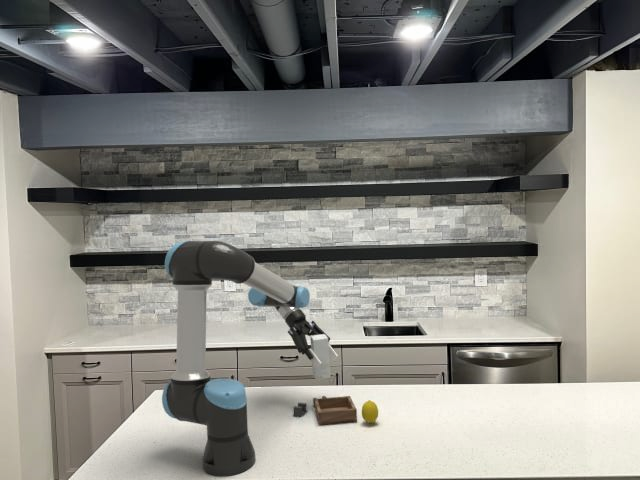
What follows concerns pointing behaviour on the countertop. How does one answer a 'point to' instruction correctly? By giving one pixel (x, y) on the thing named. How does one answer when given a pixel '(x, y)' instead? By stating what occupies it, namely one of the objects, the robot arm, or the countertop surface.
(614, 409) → the countertop surface
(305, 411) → the clip
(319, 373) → the skincare box
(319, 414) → the open wooden tray
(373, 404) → the lemon
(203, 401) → the robot arm
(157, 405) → the countertop surface
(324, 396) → the clip
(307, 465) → the countertop surface
